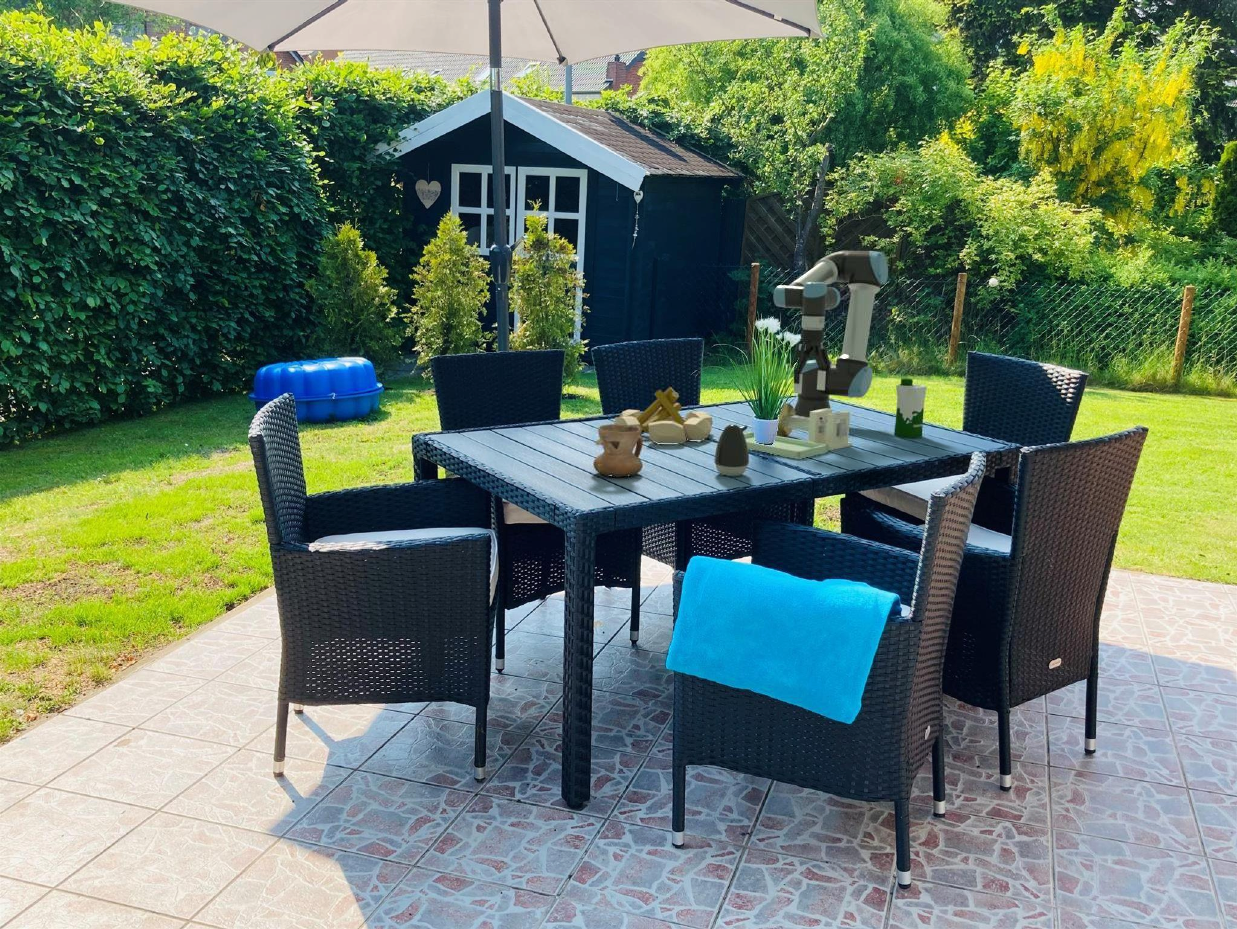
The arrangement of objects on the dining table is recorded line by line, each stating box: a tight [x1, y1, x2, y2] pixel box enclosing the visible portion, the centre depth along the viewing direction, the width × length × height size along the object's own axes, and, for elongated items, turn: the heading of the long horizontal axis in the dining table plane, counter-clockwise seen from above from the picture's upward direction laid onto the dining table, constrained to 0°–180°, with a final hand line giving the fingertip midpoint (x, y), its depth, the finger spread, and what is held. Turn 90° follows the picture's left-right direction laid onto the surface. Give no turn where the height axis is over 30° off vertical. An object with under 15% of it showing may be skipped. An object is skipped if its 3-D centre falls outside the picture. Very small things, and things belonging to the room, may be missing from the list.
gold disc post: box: [777, 402, 848, 438], centre depth 368 cm, size 28×12×12 cm, turn 45°
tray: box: [743, 431, 829, 460], centre depth 357 cm, size 16×31×2 cm, turn 45°
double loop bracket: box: [808, 408, 853, 451], centre depth 363 cm, size 11×12×12 cm
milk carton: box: [893, 377, 928, 439], centre depth 379 cm, size 9×9×20 cm
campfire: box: [613, 386, 713, 444], centre depth 375 cm, size 35×34×17 cm
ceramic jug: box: [593, 423, 644, 477], centre depth 318 cm, size 18×14×14 cm
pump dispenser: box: [713, 423, 750, 477], centre depth 319 cm, size 10×10×15 cm
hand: (809, 391), depth 367 cm, fingers open, 13 cm apart
